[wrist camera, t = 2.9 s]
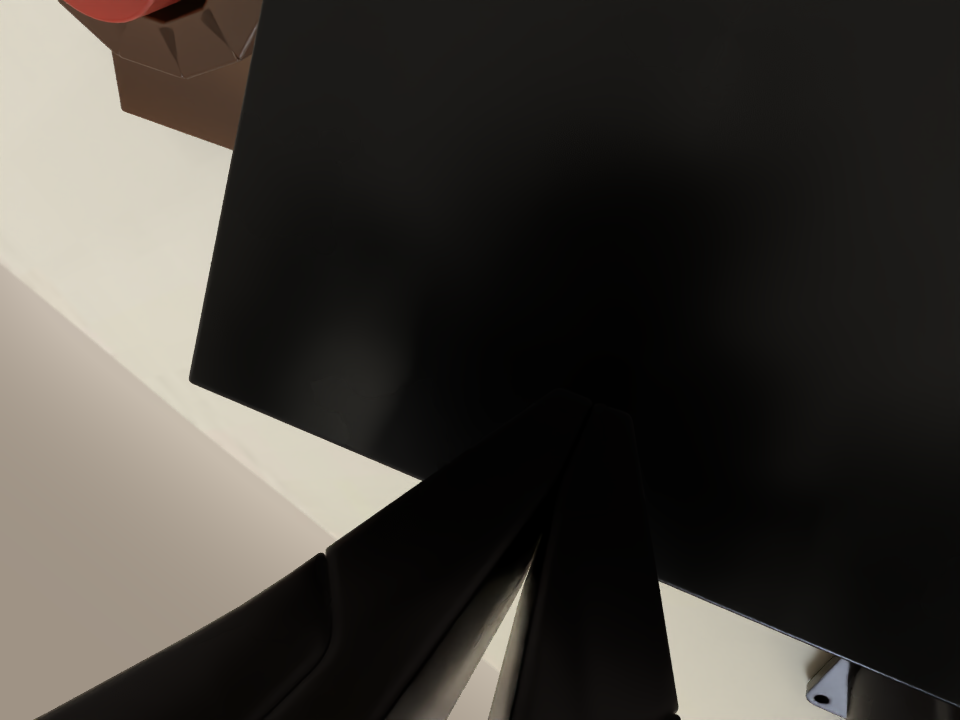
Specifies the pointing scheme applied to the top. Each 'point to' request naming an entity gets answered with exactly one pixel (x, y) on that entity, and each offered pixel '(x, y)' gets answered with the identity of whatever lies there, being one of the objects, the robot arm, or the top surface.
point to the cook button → (118, 8)
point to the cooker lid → (630, 274)
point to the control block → (184, 64)
